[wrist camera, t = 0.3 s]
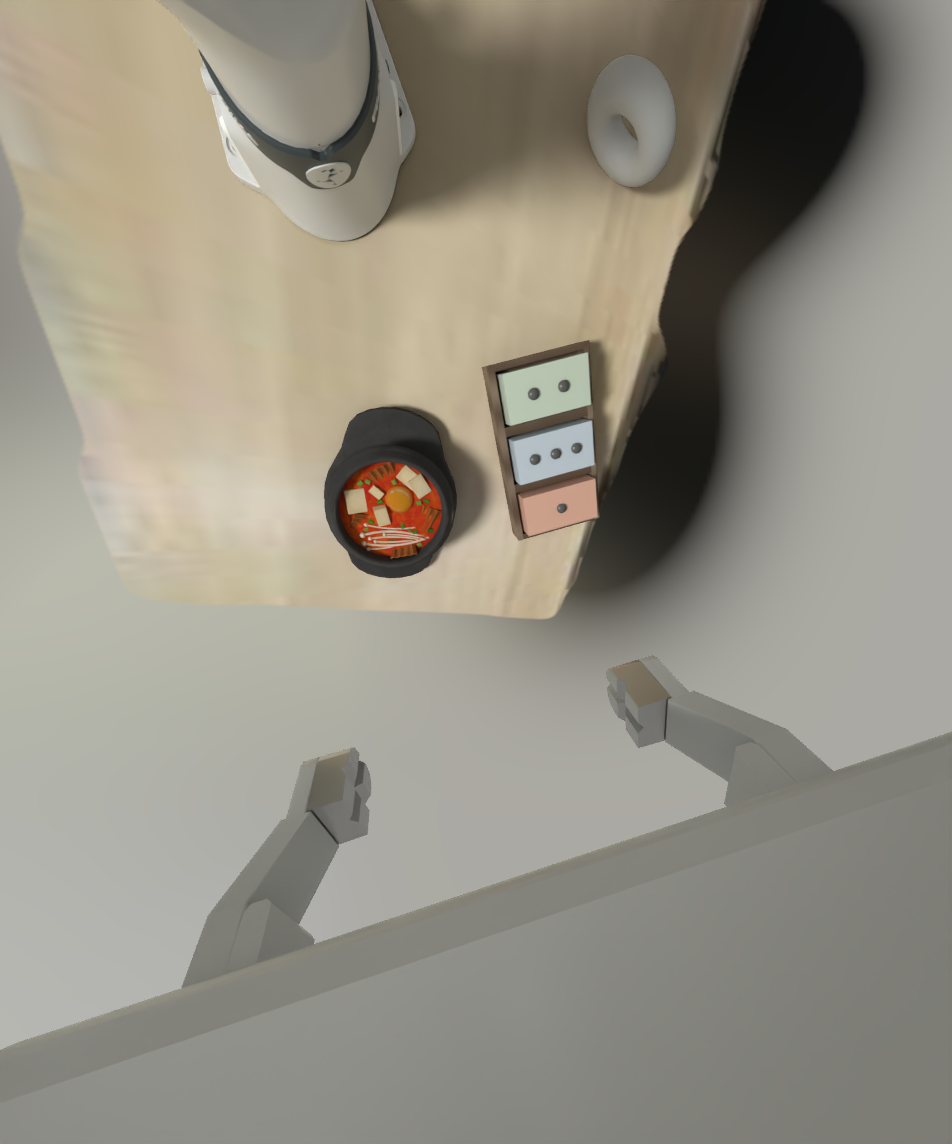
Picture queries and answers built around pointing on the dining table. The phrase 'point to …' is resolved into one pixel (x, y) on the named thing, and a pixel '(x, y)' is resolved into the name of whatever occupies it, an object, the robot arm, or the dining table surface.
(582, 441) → the counting block
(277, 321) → the dining table surface
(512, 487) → the wooden counting block tray
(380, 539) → the casserole
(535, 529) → the counting block
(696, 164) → the dining table surface
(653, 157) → the donut
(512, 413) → the counting block
